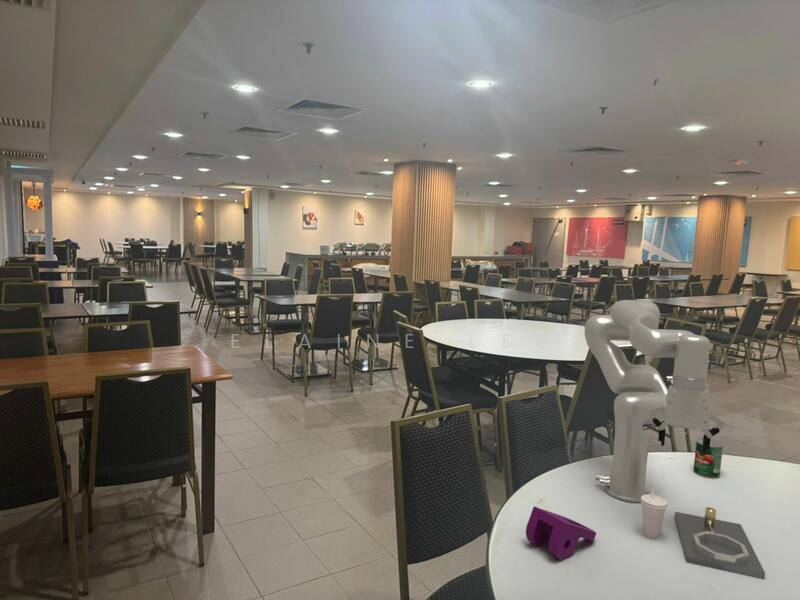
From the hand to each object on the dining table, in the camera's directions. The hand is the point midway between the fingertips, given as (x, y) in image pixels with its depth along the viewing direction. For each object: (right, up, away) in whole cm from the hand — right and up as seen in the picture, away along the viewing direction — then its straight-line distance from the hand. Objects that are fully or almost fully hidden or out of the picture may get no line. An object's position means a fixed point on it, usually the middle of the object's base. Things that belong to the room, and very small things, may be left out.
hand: (683, 447), depth 139 cm
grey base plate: (+7, -24, -2) cm, 25 cm away
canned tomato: (+31, -21, +43) cm, 57 cm away
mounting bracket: (-32, -23, -4) cm, 40 cm away
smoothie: (-8, -23, +1) cm, 25 cm away
